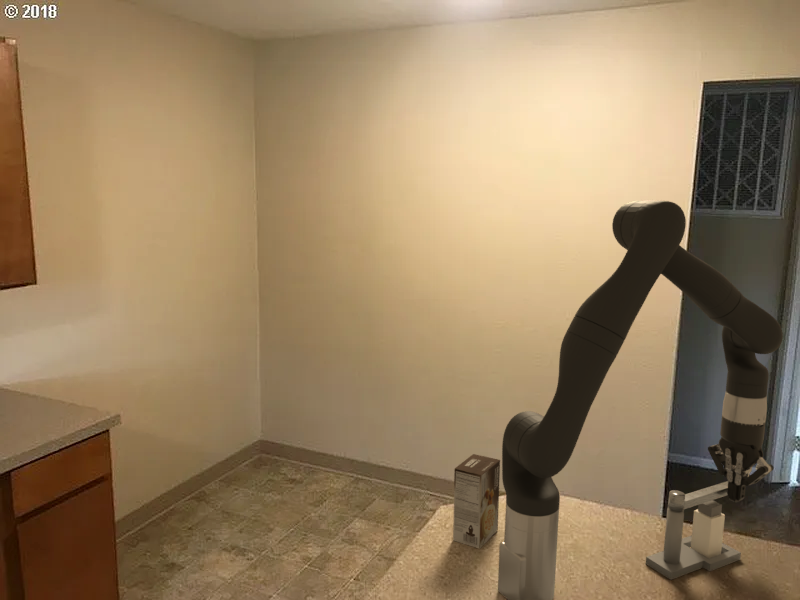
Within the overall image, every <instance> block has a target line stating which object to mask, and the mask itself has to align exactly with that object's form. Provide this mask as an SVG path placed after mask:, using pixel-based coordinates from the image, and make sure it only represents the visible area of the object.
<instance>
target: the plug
mask: <svg viewBox="0 0 800 600" xmlns="http://www.w3.org/2000/svg"><path fill="white" fill-rule="evenodd" d="M697 506H698V507H697V509H695V510H693V515H692V516H693V517H692V519H693V520H692V529H691V535H692V538H691V548H692V549H693V550H695V551H697V552H699V553H700V554H702V555H704V556H706V557H707V558H711V557H714V556H717V555H719V554H721V549H722V543H723V540H724V539H723V537H724V531H725V530H724V529H725V520H726V519H725V518H726V515H725V514H724V513H722V508H723V504H722V503H720V502H717V501H715V500H711V501H708V502H705V503H702V504H699V505H697Z"/></svg>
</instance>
